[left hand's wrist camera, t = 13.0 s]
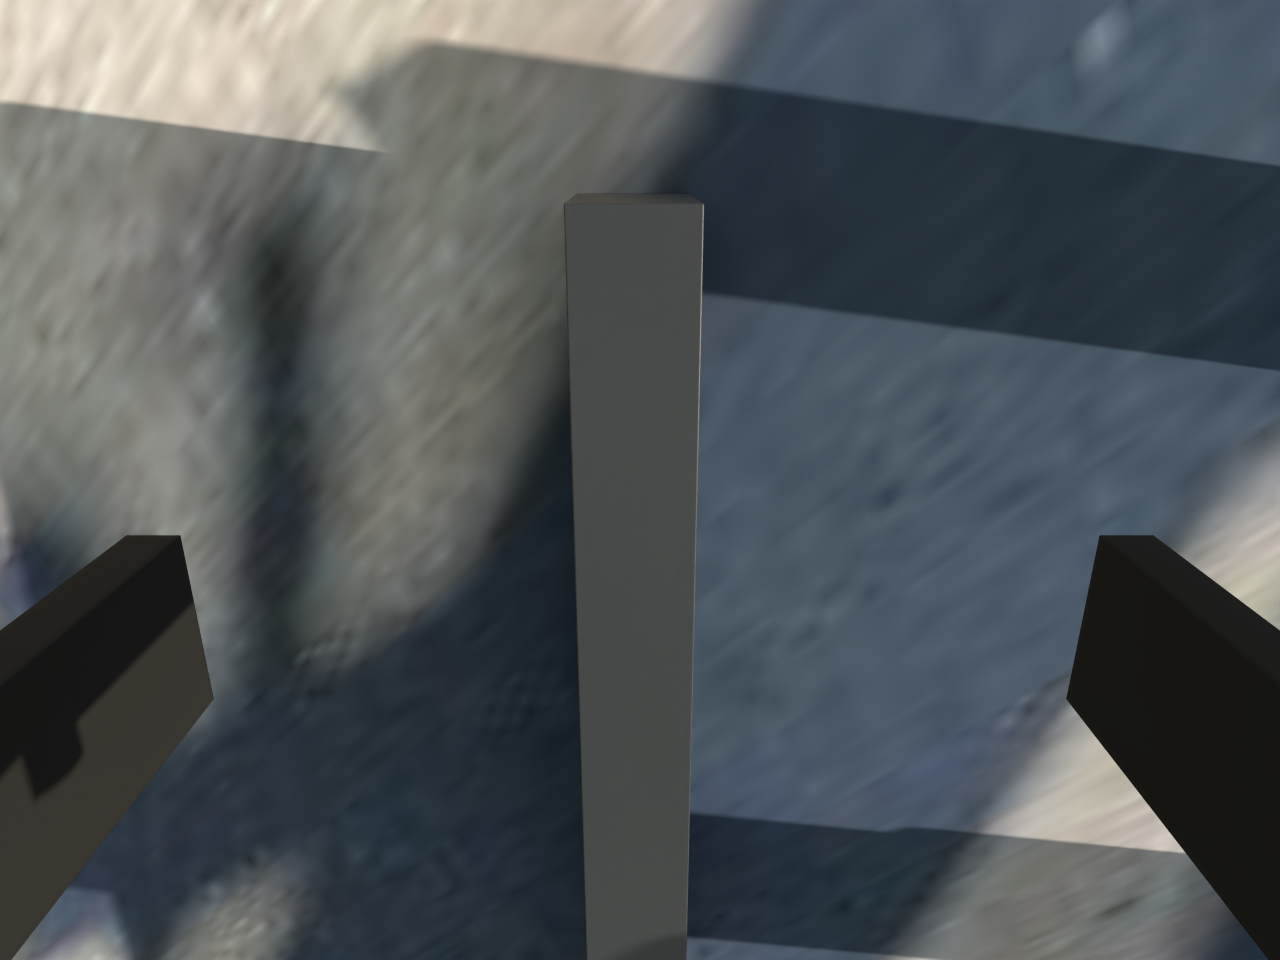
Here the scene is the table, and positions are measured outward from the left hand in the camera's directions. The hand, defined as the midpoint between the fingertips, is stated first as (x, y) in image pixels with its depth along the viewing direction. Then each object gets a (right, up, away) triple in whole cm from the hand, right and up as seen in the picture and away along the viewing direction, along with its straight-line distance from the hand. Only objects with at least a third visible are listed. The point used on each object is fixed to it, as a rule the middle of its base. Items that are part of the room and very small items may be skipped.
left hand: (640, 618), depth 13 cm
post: (0, -12, +34) cm, 36 cm away
